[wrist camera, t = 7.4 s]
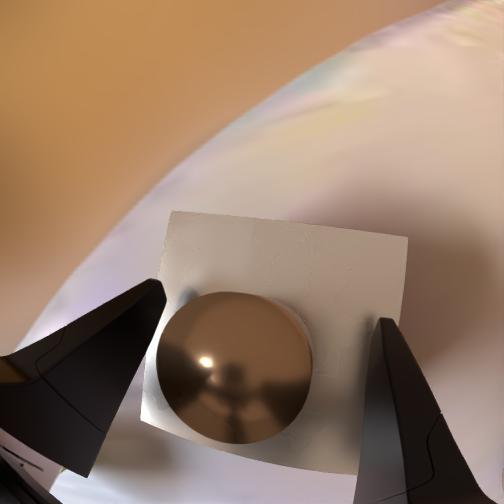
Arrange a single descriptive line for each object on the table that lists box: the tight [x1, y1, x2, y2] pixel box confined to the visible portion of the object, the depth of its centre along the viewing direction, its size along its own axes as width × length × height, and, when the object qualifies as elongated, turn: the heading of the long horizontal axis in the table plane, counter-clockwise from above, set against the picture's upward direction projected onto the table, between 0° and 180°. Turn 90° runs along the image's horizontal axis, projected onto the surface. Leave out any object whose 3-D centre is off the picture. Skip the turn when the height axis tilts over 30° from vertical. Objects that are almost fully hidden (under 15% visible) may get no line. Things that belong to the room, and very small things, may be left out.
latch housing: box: [141, 211, 408, 475], centre depth 13 cm, size 9×11×7 cm
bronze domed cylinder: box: [156, 291, 315, 444], centre depth 10 cm, size 4×4×9 cm
